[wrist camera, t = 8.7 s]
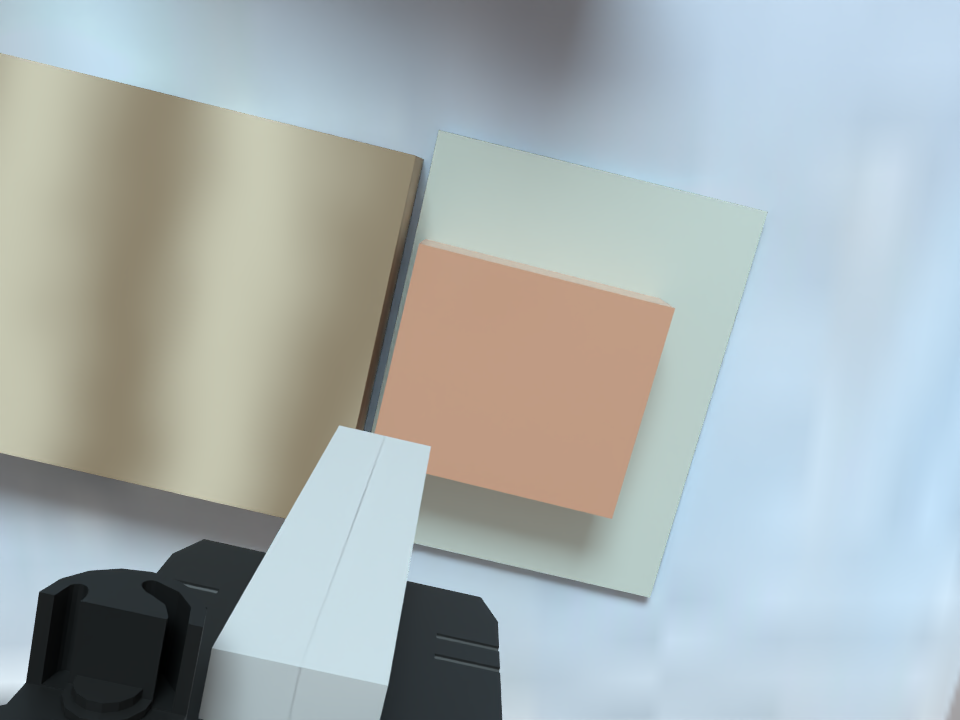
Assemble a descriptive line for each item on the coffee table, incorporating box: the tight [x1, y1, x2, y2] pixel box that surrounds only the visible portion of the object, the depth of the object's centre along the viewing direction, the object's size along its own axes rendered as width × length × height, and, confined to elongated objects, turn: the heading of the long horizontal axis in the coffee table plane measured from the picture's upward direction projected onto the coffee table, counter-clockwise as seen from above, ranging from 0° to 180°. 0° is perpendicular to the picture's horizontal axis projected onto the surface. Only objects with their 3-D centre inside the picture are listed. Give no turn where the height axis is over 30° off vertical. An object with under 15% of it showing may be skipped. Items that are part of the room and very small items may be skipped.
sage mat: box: [371, 130, 768, 598], centre depth 29 cm, size 11×14×1 cm
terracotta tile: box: [375, 239, 675, 519], centre depth 27 cm, size 8×7×2 cm
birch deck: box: [0, 53, 424, 519], centre depth 27 cm, size 16×12×3 cm
